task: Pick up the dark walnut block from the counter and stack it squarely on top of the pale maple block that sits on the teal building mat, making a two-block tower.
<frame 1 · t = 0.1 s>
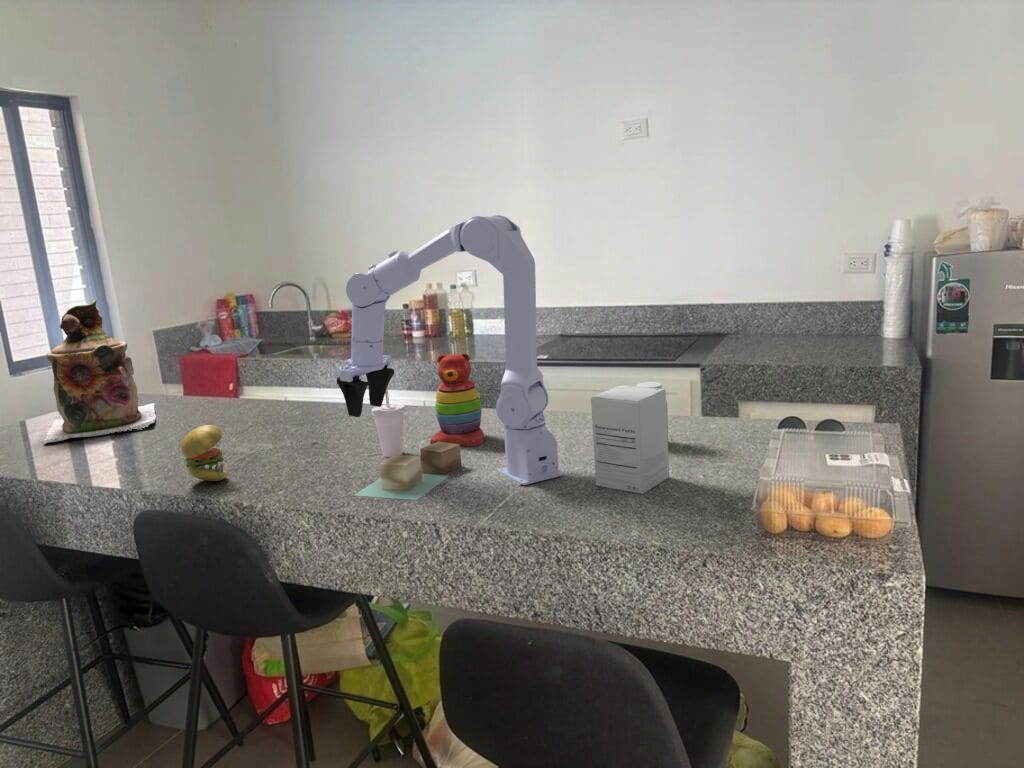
hand: (365, 410, 140), 11 cm above the table, tool pointing down, fingers open, 7 cm apart
maple block: (402, 485, 128), resting on building mat
hamburger: (208, 483, 139), on the table
supplement box: (632, 483, 122), on the table
walnut block: (442, 470, 135), on the table
pill bottle: (650, 446, 141), on the table
building mat: (402, 486, 128), on the table
stacking bear: (460, 440, 154), on the table
smoothie: (393, 456, 147), on the table
cookie jar: (104, 428, 191), on the table
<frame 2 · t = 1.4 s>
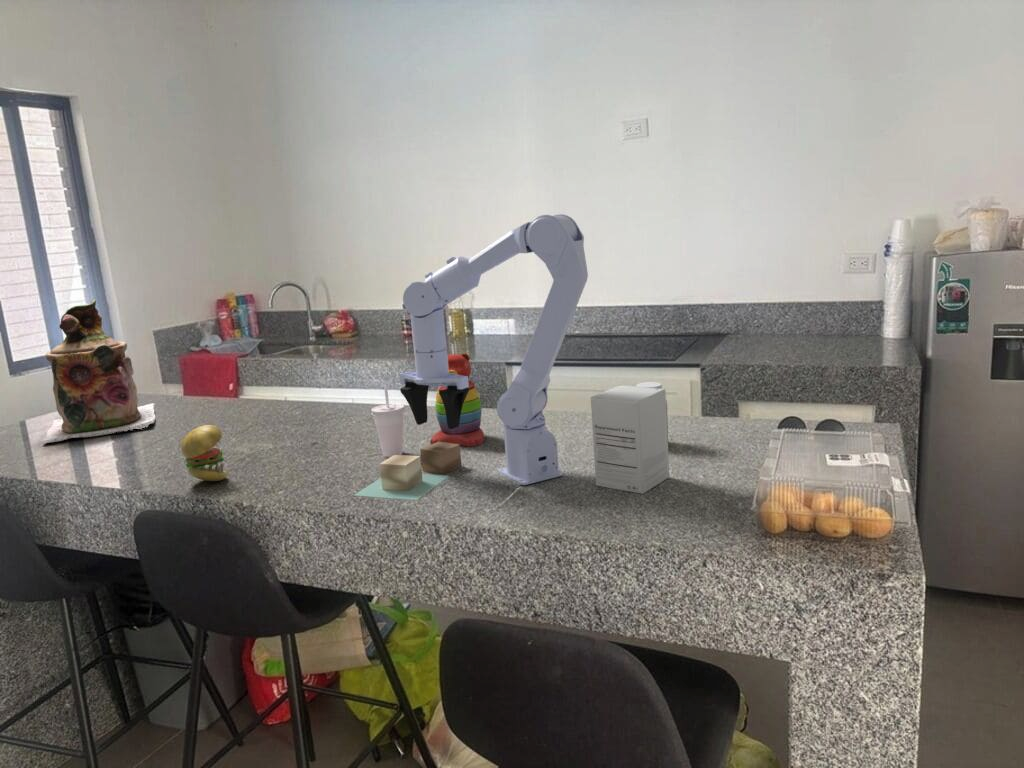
hand: (437, 425, 134), 8 cm above the table, tool pointing down, fingers open, 7 cm apart
nothing on the table moved.
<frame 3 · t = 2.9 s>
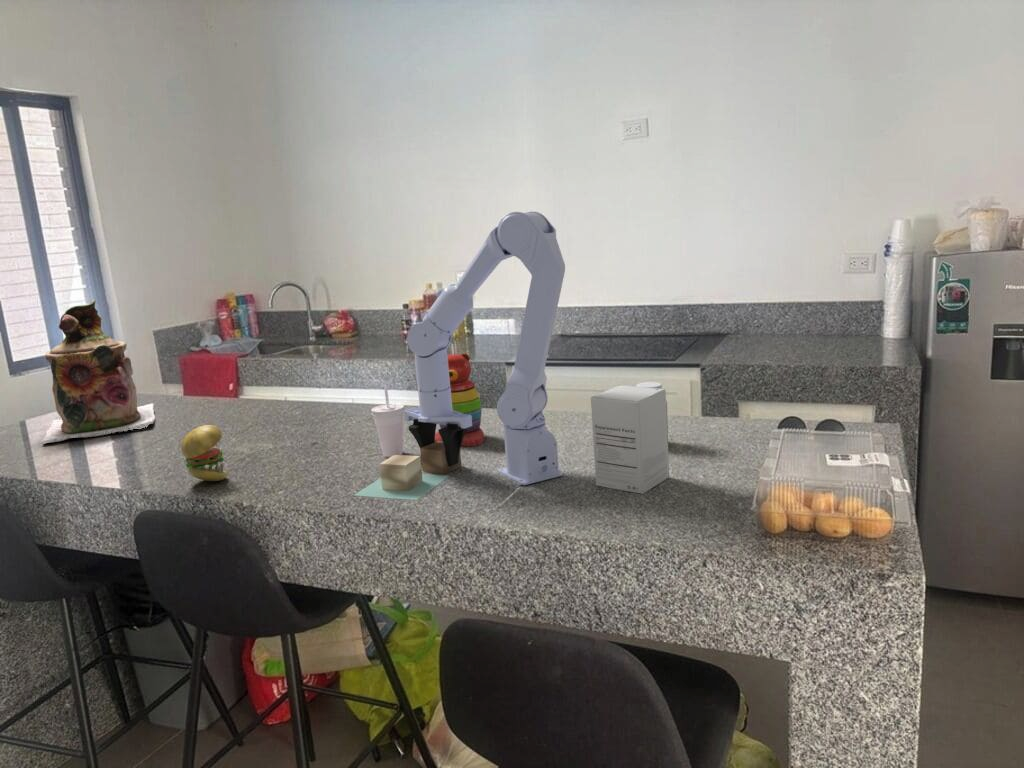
hand: (441, 462, 135), 1 cm above the table, tool pointing down, fingers closed on walnut block, 5 cm apart
walnut block: (442, 470, 135), on the table, touching gripper
everything else where it was.
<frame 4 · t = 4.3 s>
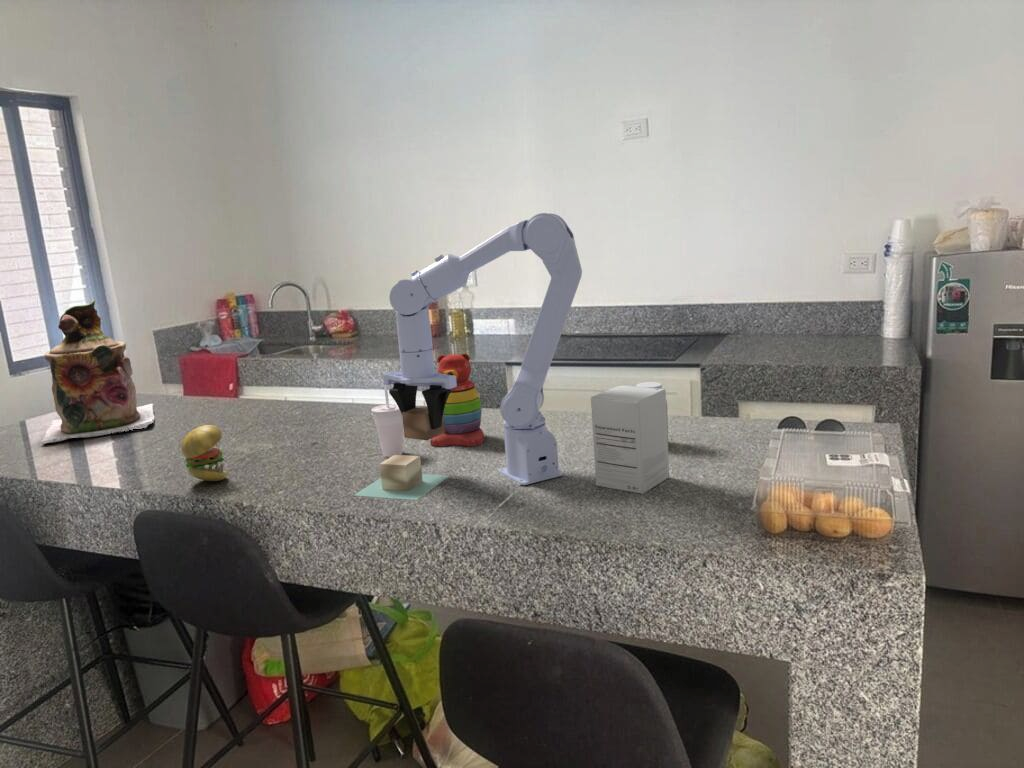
hand: (423, 426, 131), 9 cm above the table, tool pointing down, fingers closed on walnut block, 5 cm apart
walnut block: (424, 435, 131), point 7 cm above the table, touching gripper
everything else where it was.
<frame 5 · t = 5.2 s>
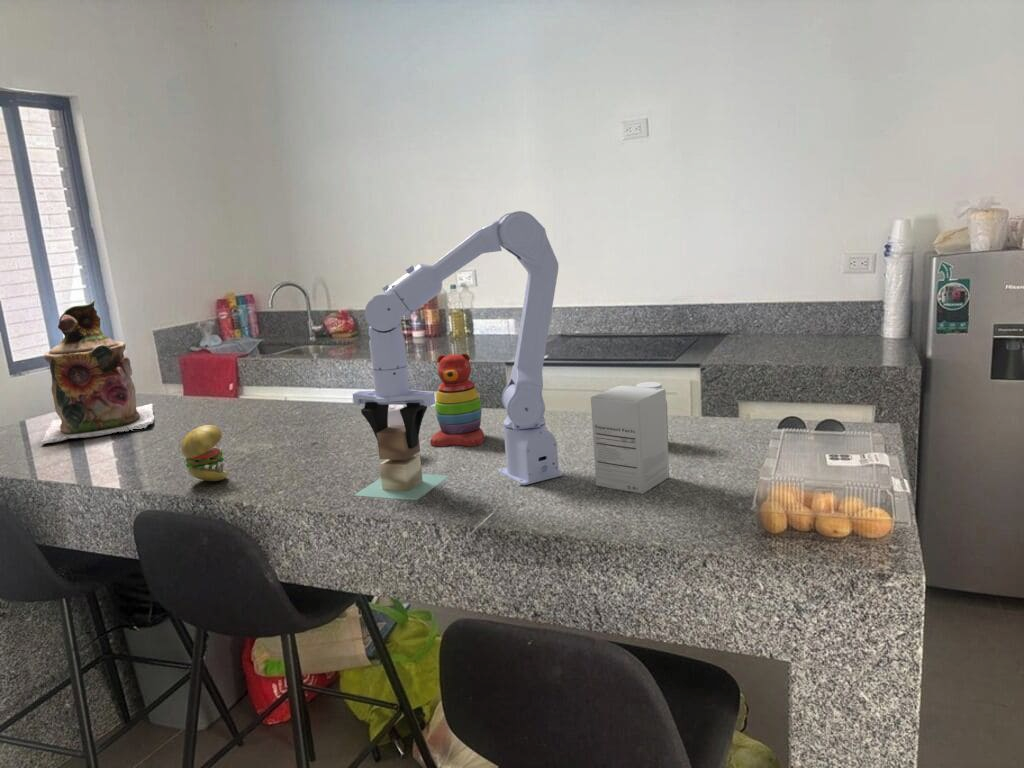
hand: (398, 446, 126), 7 cm above the table, tool pointing down, fingers closed on walnut block, 5 cm apart
walnut block: (400, 455, 127), point 6 cm above the table, touching gripper
everything else where it was.
when the fingers open (7 cm above the table, at t = 5.9 s): walnut block stays where it is, resting on maple block.
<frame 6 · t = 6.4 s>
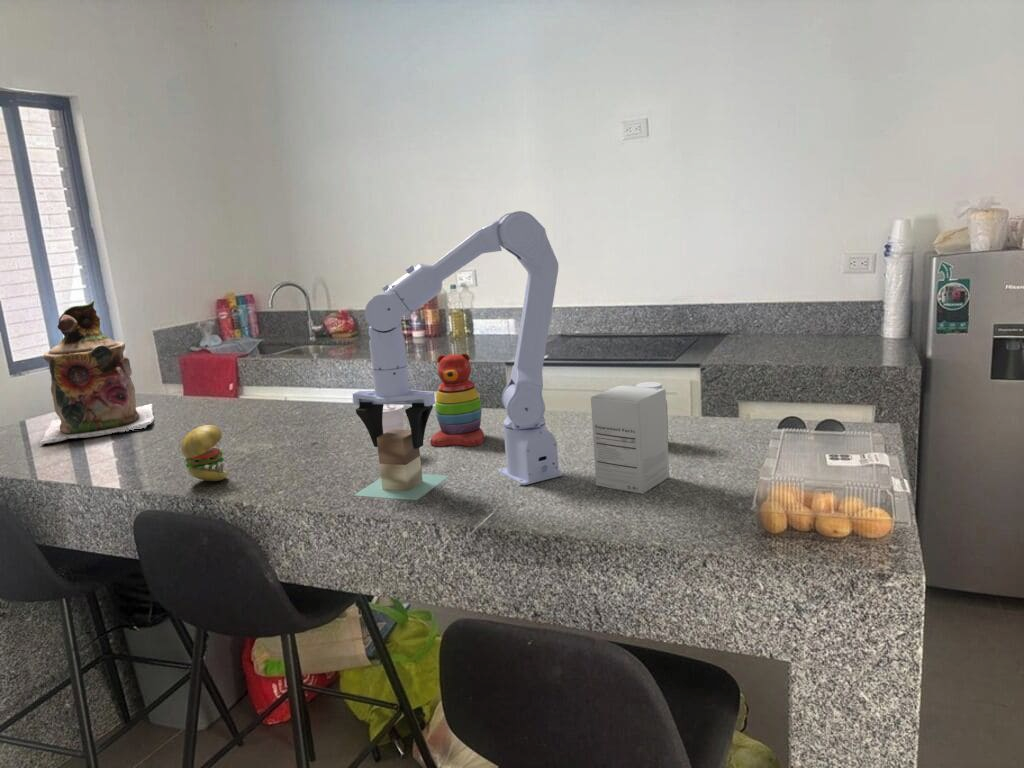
hand: (398, 446, 126), 7 cm above the table, tool pointing down, fingers open, 7 cm apart
maple block: (402, 485, 128), resting on building mat, touching walnut block
walnut block: (400, 459, 127), point 5 cm above the table, touching maple block
everything else where it was.
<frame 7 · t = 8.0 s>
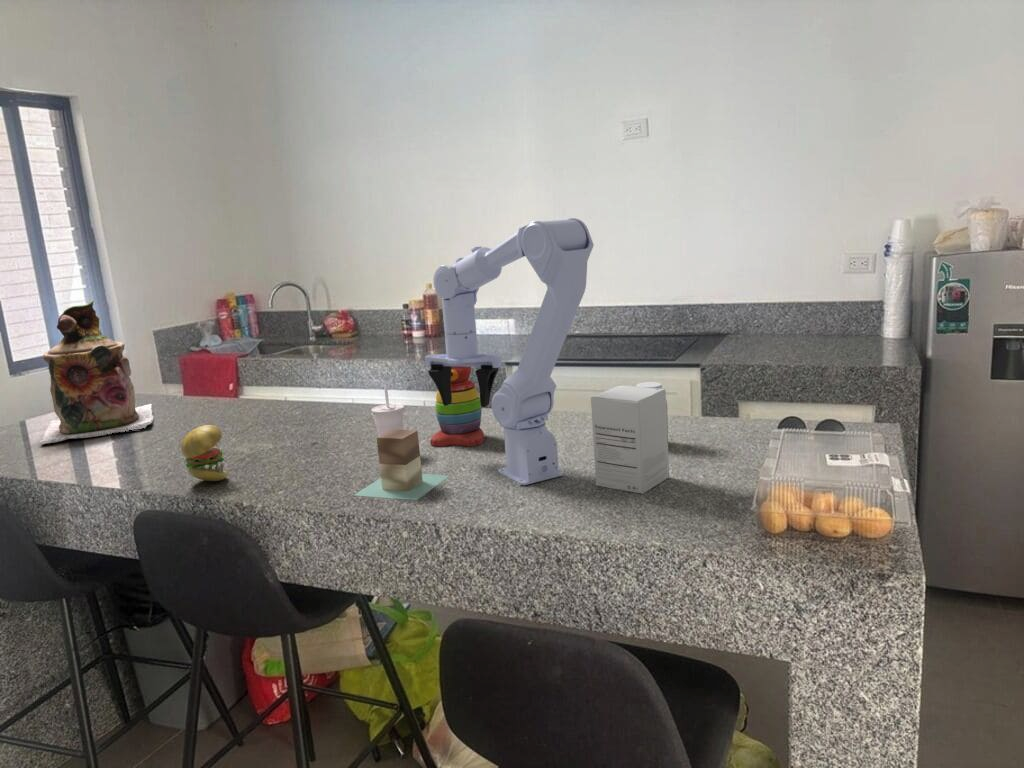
hand: (466, 405, 138), 10 cm above the table, tool pointing down, fingers open, 7 cm apart
nothing on the table moved.
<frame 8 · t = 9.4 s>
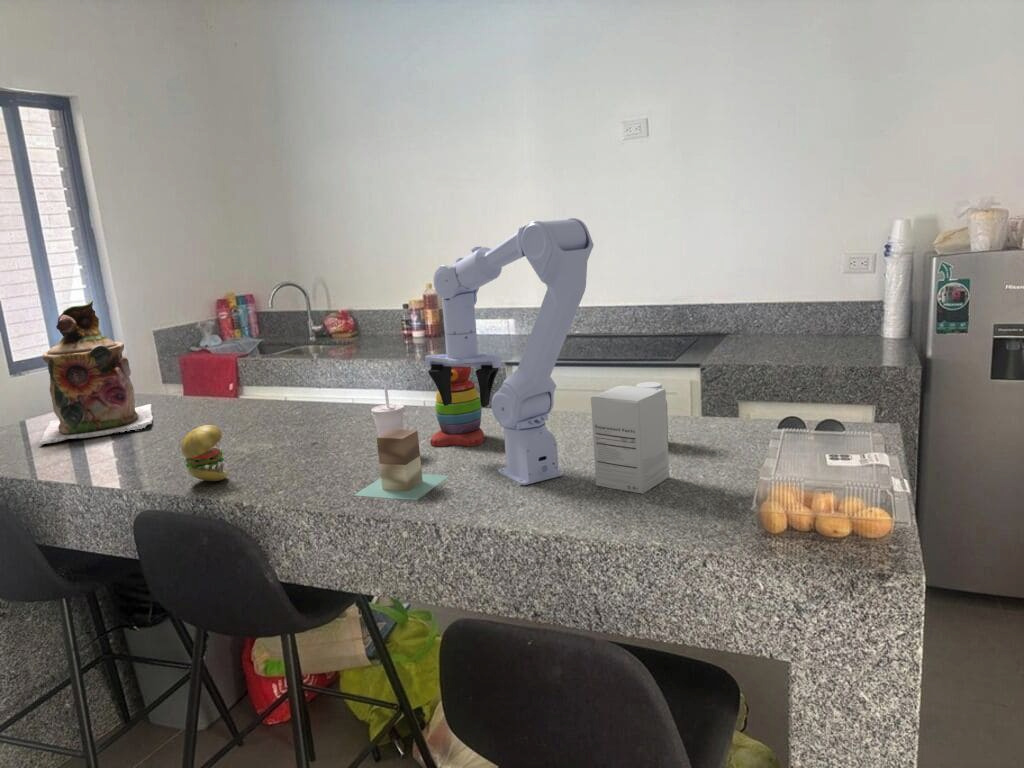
hand: (466, 405, 138), 10 cm above the table, tool pointing down, fingers open, 7 cm apart
at the end: walnut block 0.1 cm off-centre on the maple block, point 4.5 cm above the maple block's base; walnut block tilted 0°; maple block moved 0.0 cm from its start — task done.
